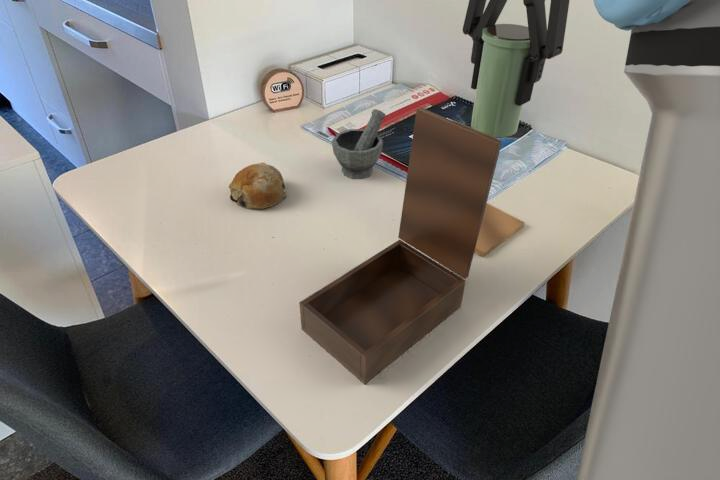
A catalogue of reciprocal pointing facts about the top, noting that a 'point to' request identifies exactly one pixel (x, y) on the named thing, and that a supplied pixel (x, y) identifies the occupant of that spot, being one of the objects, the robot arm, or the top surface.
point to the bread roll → (257, 187)
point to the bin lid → (447, 189)
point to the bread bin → (381, 308)
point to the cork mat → (495, 229)
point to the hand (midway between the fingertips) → (499, 94)
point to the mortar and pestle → (359, 148)
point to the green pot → (500, 79)
